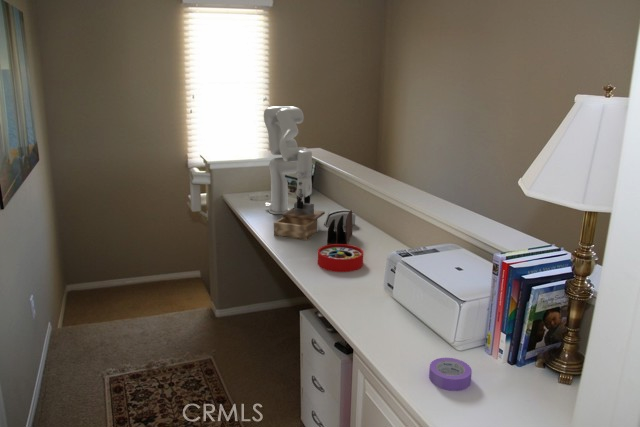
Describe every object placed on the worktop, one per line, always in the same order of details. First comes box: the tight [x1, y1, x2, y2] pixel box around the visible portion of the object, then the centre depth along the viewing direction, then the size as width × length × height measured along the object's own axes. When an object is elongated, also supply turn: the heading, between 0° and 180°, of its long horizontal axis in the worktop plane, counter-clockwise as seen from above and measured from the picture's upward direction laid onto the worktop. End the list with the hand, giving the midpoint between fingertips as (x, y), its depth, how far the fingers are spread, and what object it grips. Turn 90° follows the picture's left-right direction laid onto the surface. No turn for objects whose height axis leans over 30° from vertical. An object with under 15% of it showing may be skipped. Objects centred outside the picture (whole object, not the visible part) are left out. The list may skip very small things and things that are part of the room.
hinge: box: [323, 209, 356, 228], centre depth 300 cm, size 17×5×10 cm, turn 112°
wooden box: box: [273, 216, 318, 241], centre depth 284 cm, size 18×14×7 cm
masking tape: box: [428, 357, 473, 392], centre depth 160 cm, size 12×12×4 cm
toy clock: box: [317, 244, 364, 273], centre depth 246 cm, size 20×6×20 cm
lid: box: [282, 201, 326, 221], centre depth 292 cm, size 18×14×6 cm
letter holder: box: [326, 209, 353, 245], centre depth 277 cm, size 10×20×14 cm, turn 170°
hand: (303, 206), depth 292 cm, fingers open, 9 cm apart
